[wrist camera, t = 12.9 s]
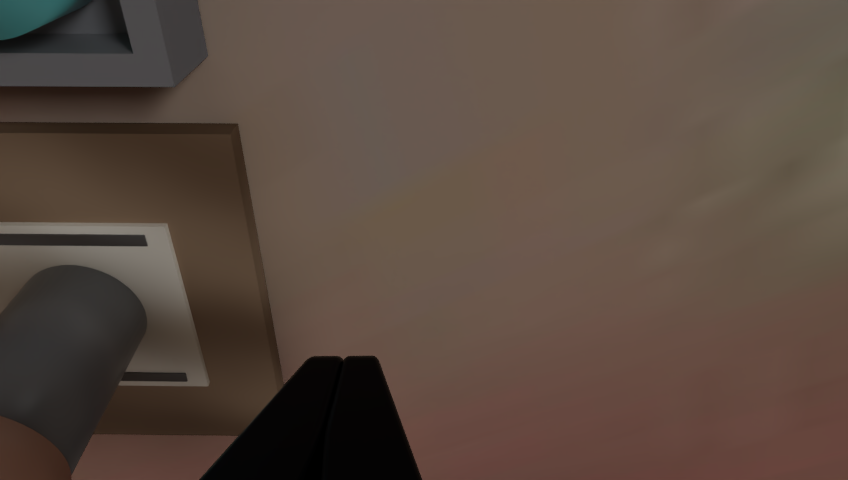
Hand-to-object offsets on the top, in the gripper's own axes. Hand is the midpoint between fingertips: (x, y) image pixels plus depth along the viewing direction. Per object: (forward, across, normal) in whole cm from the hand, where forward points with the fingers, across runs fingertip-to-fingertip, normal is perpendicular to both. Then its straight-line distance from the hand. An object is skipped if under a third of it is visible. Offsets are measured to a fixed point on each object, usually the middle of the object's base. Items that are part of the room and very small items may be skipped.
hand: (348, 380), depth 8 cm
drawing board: (+12, +11, +7) cm, 18 cm away
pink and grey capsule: (+10, +11, +7) cm, 17 cm away
